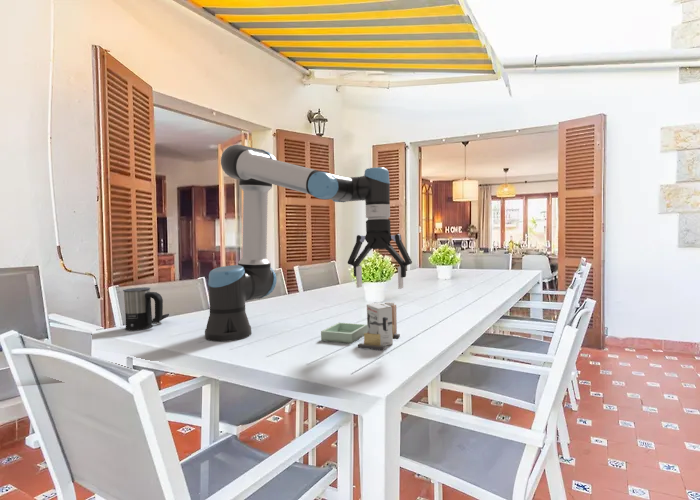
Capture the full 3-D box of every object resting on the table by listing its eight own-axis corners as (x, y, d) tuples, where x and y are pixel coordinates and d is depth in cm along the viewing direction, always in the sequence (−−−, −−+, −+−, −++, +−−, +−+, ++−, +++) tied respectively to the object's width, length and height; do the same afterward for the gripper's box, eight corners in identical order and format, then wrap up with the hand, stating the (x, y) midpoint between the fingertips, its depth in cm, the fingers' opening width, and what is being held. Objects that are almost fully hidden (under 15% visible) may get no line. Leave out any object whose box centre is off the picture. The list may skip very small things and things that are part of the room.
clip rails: (364, 347, 128) (364, 333, 128) (379, 336, 140) (379, 323, 140) (380, 348, 126) (379, 334, 126) (394, 337, 138) (393, 325, 138)
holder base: (357, 347, 127) (357, 344, 127) (376, 335, 142) (376, 332, 142) (383, 350, 124) (383, 347, 124) (399, 337, 139) (399, 334, 139)
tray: (321, 340, 136) (321, 331, 136) (339, 331, 149) (339, 322, 149) (351, 343, 132) (351, 333, 132) (367, 333, 145) (367, 324, 145)
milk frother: (121, 332, 153) (119, 291, 153) (132, 322, 169) (131, 285, 168) (163, 329, 157) (162, 289, 156) (171, 320, 172) (169, 283, 171)
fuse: (382, 335, 142) (382, 303, 141) (385, 333, 144) (384, 301, 144) (394, 336, 140) (393, 303, 140) (396, 334, 143) (396, 302, 142)
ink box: (366, 340, 136) (366, 303, 135) (380, 338, 138) (380, 302, 137) (378, 346, 128) (378, 307, 128) (393, 344, 130) (392, 306, 130)
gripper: (336, 220, 133) (338, 287, 134) (414, 217, 123) (415, 290, 124) (346, 220, 140) (347, 284, 141) (420, 217, 130) (422, 287, 131)
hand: (379, 287), depth 132 cm, fingers open, 13 cm apart
